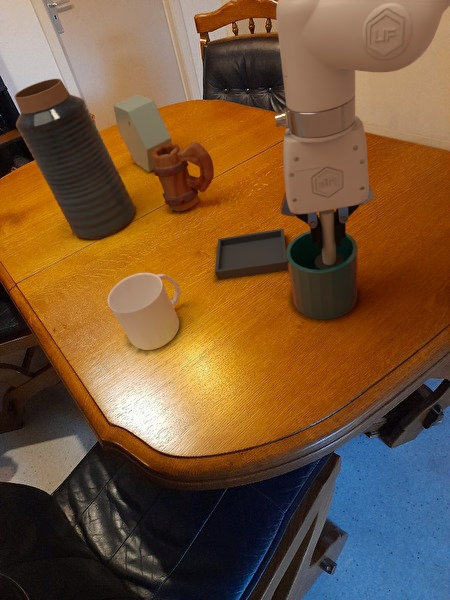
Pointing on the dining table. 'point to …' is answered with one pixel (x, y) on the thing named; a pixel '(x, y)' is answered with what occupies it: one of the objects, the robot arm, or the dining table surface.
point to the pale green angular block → (141, 129)
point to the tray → (251, 254)
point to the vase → (73, 159)
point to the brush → (328, 243)
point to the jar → (322, 278)
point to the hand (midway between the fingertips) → (328, 242)
